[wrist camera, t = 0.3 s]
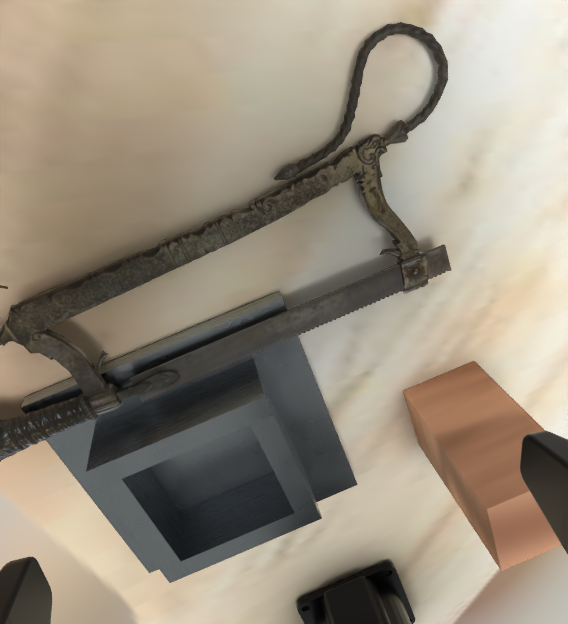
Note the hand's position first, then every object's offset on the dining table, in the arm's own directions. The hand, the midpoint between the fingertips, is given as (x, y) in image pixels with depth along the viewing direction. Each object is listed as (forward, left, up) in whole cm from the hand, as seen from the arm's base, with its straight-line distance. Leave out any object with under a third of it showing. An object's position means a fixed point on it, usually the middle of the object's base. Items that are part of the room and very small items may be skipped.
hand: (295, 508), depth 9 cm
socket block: (-9, +4, -14) cm, 17 cm away
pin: (-13, -8, -14) cm, 20 cm away
